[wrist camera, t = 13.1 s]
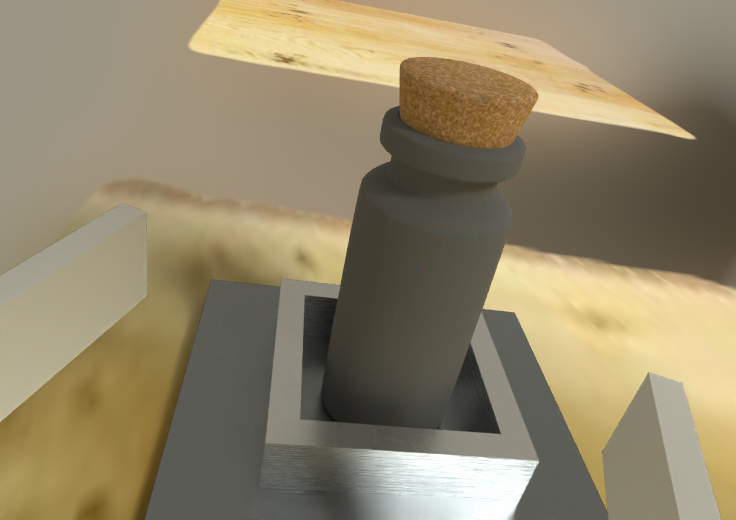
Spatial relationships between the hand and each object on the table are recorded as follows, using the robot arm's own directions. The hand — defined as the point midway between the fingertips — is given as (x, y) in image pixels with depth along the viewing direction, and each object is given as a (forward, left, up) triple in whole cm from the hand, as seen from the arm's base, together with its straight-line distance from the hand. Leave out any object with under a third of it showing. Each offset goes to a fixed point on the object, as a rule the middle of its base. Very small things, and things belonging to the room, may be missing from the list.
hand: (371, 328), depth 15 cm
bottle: (-3, -8, -10) cm, 13 cm away
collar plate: (-3, -8, -11) cm, 14 cm away
